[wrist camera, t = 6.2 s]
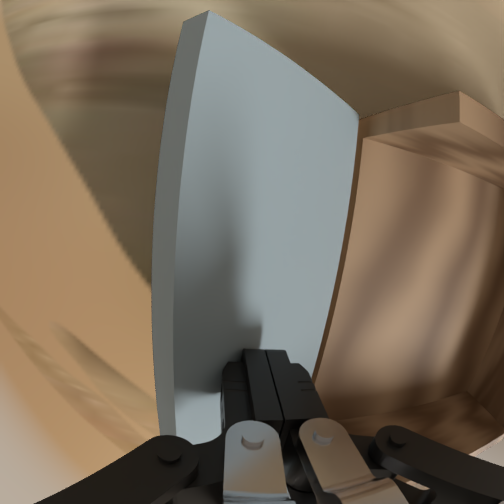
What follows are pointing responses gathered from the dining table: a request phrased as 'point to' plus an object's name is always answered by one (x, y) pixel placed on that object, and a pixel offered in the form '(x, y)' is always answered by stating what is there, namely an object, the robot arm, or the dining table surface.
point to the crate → (421, 279)
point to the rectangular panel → (242, 216)
